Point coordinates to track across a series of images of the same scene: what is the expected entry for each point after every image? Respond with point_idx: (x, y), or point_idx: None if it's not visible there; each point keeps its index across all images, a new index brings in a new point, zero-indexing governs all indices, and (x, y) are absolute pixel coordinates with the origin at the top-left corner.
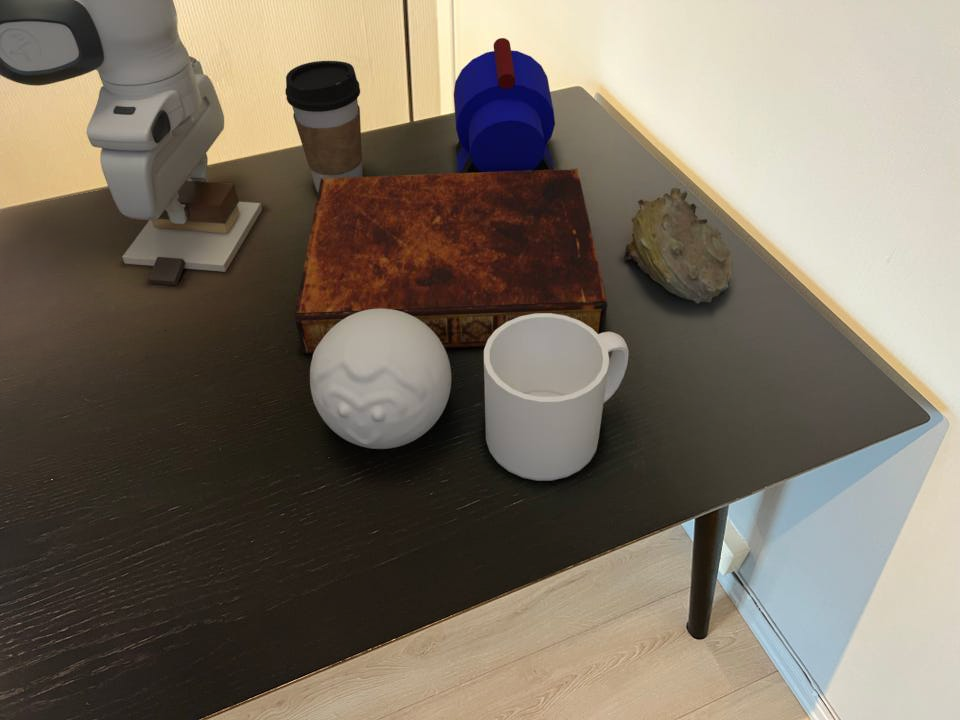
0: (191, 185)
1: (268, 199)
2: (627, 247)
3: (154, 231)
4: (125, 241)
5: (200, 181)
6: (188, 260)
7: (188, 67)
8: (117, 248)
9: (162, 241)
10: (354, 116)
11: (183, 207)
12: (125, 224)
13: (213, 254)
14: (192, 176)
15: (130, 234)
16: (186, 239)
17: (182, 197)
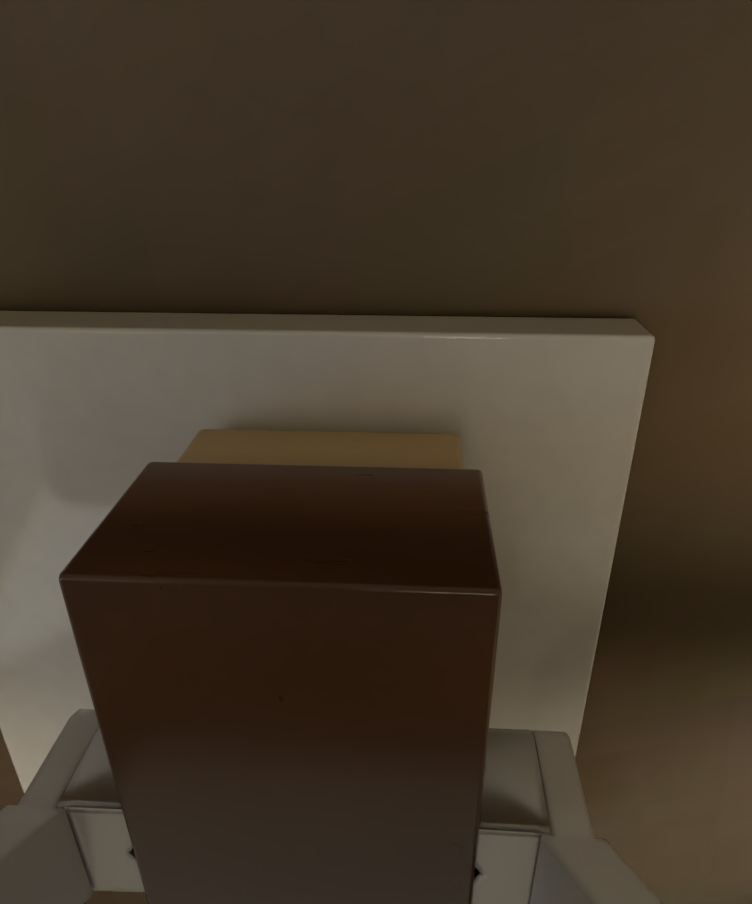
0: (398, 879)
1: (646, 820)
2: None
3: (181, 431)
4: (112, 184)
5: (483, 900)
6: (1, 697)
7: None
8: (18, 162)
9: (97, 522)
10: None
11: (83, 900)
12: (318, 62)
13: None
14: (546, 858)
15: (201, 182)
16: None
17: (208, 866)
